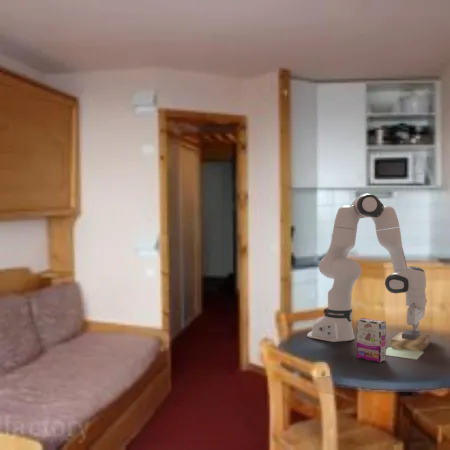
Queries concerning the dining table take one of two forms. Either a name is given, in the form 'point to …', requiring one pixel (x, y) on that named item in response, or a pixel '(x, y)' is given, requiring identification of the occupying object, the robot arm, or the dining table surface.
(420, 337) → the square wooden plank
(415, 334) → the grey flat block
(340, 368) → the dining table surface
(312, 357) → the dining table surface
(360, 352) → the candy bar box
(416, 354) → the mat
